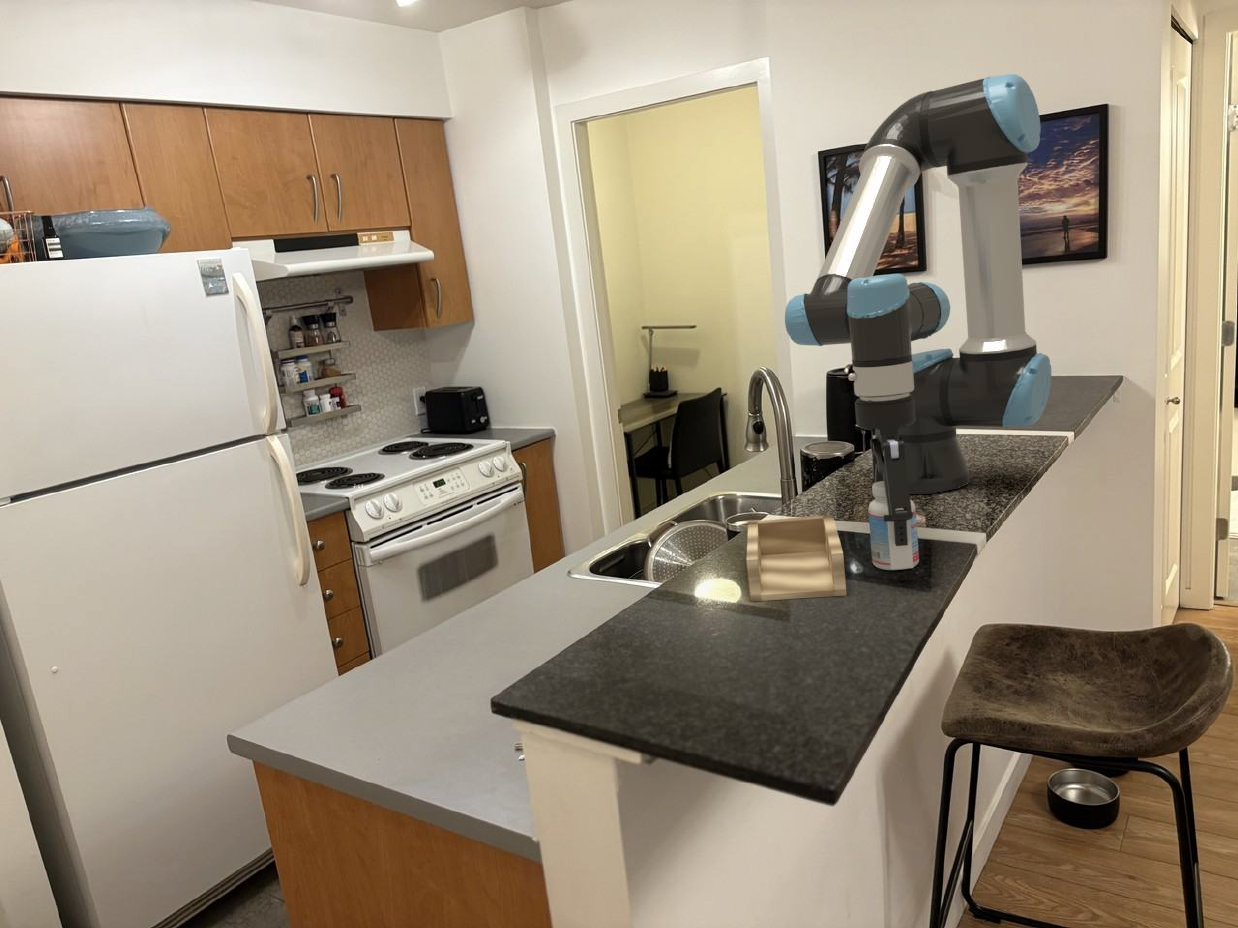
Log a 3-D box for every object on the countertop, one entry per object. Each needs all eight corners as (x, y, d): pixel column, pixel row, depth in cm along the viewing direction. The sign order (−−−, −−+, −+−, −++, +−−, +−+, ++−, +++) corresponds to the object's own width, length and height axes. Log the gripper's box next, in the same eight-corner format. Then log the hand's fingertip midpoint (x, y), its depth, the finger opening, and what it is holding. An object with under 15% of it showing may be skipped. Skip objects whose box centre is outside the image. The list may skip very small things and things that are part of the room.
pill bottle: (921, 570, 121) (916, 487, 119) (873, 572, 123) (867, 491, 120) (916, 555, 127) (911, 476, 125) (871, 558, 128) (865, 480, 126)
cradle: (751, 558, 135) (748, 521, 134) (835, 552, 133) (832, 514, 132) (750, 601, 118) (746, 559, 117) (846, 595, 116) (843, 552, 115)
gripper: (846, 386, 133) (857, 528, 137) (864, 413, 109) (877, 584, 113) (900, 380, 132) (909, 524, 136) (930, 407, 108) (940, 580, 112)
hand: (894, 552), depth 125 cm, fingers open, 12 cm apart
